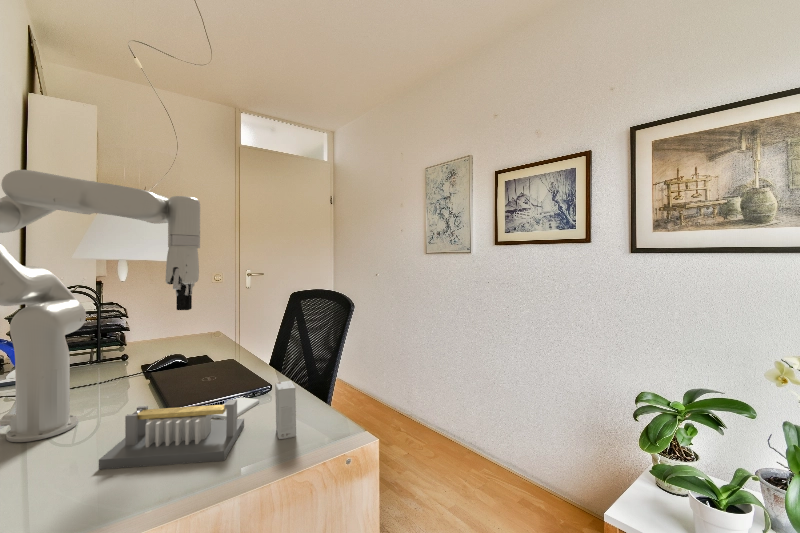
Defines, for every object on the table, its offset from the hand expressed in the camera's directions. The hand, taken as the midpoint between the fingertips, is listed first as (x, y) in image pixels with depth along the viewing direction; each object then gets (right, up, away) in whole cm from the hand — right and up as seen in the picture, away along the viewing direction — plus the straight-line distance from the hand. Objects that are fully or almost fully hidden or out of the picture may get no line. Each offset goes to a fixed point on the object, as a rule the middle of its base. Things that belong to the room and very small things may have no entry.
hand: (184, 309), depth 98 cm
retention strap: (+8, -23, -15) cm, 29 cm away
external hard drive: (+11, -30, +5) cm, 32 cm away
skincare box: (+30, -30, -9) cm, 44 cm away
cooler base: (+8, -30, -15) cm, 34 cm away
